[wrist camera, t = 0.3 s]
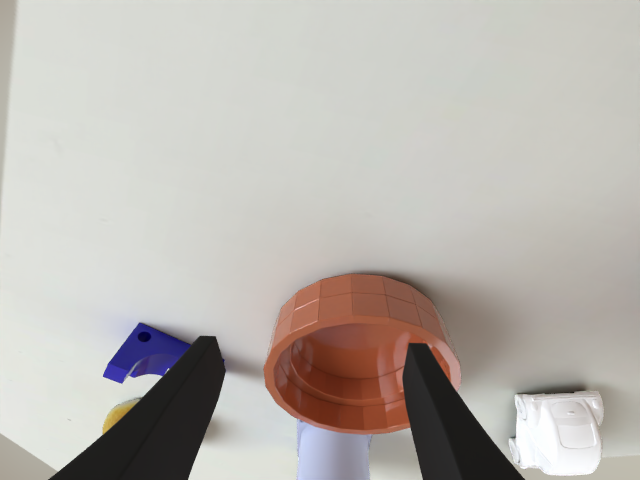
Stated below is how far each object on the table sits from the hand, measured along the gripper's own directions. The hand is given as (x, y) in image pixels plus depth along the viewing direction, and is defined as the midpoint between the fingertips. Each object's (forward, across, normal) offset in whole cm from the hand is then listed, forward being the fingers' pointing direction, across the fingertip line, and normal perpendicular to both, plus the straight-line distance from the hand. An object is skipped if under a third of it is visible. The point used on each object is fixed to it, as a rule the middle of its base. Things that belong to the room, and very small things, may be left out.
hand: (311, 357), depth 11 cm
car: (+10, -21, +21) cm, 31 cm away
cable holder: (+10, +14, +13) cm, 21 cm away
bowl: (+10, -3, +10) cm, 14 cm away
